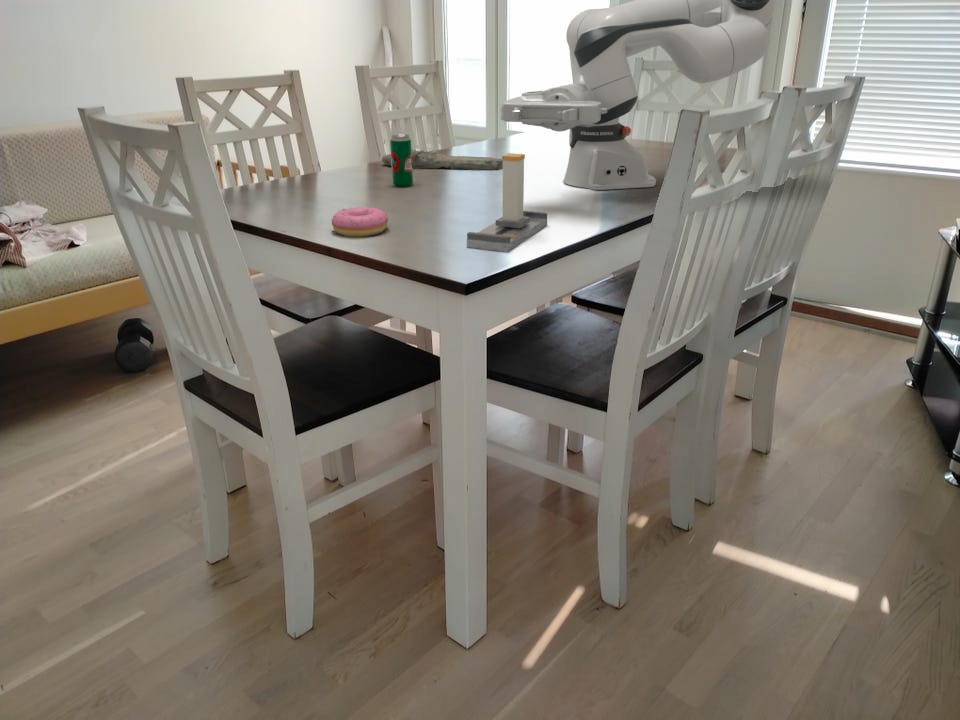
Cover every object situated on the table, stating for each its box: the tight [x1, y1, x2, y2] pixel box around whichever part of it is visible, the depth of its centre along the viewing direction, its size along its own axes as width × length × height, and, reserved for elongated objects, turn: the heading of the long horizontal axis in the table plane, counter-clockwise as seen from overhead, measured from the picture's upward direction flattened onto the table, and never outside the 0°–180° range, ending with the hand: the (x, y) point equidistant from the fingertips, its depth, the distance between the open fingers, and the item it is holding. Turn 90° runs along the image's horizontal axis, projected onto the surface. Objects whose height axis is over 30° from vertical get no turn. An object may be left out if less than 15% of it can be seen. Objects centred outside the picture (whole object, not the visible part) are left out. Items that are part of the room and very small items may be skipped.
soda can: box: [389, 133, 414, 188], centre depth 179 cm, size 5×5×12 cm
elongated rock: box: [381, 149, 503, 171], centre depth 203 cm, size 35×5×10 cm
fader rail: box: [466, 209, 548, 253], centre depth 138 cm, size 20×8×2 cm, turn 155°
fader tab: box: [495, 152, 530, 228], centre depth 137 cm, size 5×5×13 cm
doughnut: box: [331, 206, 389, 238], centre depth 142 cm, size 11×11×4 cm
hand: (538, 115), depth 141 cm, fingers open, 8 cm apart
